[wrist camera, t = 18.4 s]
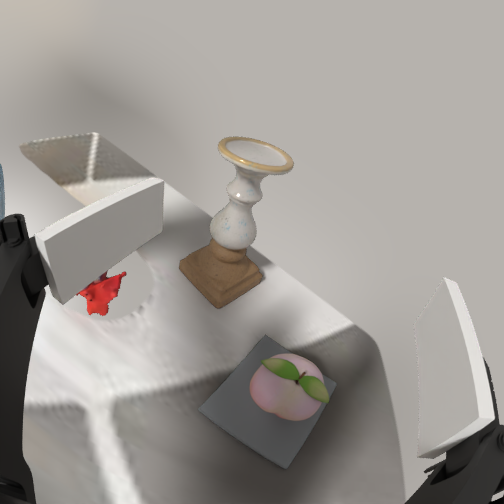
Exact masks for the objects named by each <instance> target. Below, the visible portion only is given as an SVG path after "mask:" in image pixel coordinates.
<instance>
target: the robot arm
mask: <svg viewBox="0 0 504 504" xmlns="http://www.w3.org/2000/svg"><path fill="white" fill-rule="evenodd" d="M163 198H164V180H161V179H157V178H153V177H152V178H149V179H147V180H144V181H142V182H139V183H137V184H134V185H132V186H130V187H127V188H125V189H123V190H121V191H118V192H116V193H114V194H112V195H109V196H107V197H105V198H103V199H101V200H99V201H96V202H94V203H92V204H90V205H88V206H86V207H84V208H82V209H80V210H78V211H76V212H74V213H72V214H70V215H68V216H66V217H65V218H63V219H61V220H59V221H57V222H55V223H54V224H52V225H50V226H48V227H47V228H45V229H43V230H41V231H39V232H38V233H36V234H34V235H35V236H34V237H31V238H30V239H29V236H28V232H27V228H26V223H25V218H24V215H22V214H13V215H9V216H7V217H5V195H4V179H3V171H2V166H1V164H0V504H36V499H35V492H34V484H33V478H32V473H31V471H30V468H29V466H28V465H27V463H26V461H25V460H24V457H23V451H22V430H23V409H24V398H25V388H26V381H27V374H28V367H29V361H30V356H31V351H32V346H33V341H34V337H35V332H36V328H37V324H38V320H39V316H40V313H41V309H42V306H43V302H44V299H45V294H46V292H45V289H44V287H45V286H47V285H48V284H49V287H50V289H51V293H52V295H53V297H54V298H55V299H57V300H58V301H59V302H60V303H61V304H62V305H64V304H65V303H66V302H67V301H69V300H70V299H71V298H72V297H74V296H75V295H76V294H77V293H79V292H80V291H81V290H82V289H84V288H85V287H86V286H88V285H89V284H90V283H92V282H93V281H94V280H95V279H97V278H98V277H99V276H101V275H102V274H103V273H105V272H106V271H107V270H108V269H110V268H111V267H112V266H114V265H115V264H117V263H118V262H120V261H121V260H122V259H124V258H125V257H126V256H128V255H129V254H131V253H132V252H133V251H135V250H136V249H138V248H139V247H141V246H142V245H143V244H145V243H146V242H148V241H149V240H151V239H152V238H154V237H155V236H156V235H158V234H159V233H161V232H162V231H163ZM414 330H415V339H416V349H417V360H418V374H419V375H418V376H419V438H418V452H417V457H419V458H431V459H434V458H436V457H438V456H439V455H441V454H443V453H445V452H446V459H445V460H443V461H442V462H439V463H437V464H435V465H434V466H431V467H429V468H428V469H426V470H425V471H424V473H427V472H430V471H432V470H434V471H433V472H432V473H431V474H430V475H428V478H427V479H426V481H425V482H424V483H423V484H422V485H421V487H420V488H419V489H418V490H417V491H416V492H415V493H414V494H413V495H412V496H411V497H410V499H409V500H408V501H407V502H406V503H405V504H504V495H503V497H502V498H499V499H497V500H495V501H491V499H492V496H493V495H495V494H497V493H499V492H501V491H503V490H504V425H500V424H499V418H498V410H497V404H496V399H495V393H494V391H493V389H494V388H493V383H492V382H491V380H492V379H491V375H490V370H489V367H488V365H487V363H486V361H485V360H484V358H483V357H482V353H481V349H480V346H479V343H478V339H477V336H476V333H475V330H474V327H473V324H472V321H471V318H470V316H469V312H468V310H467V307H466V304H465V302H464V300H463V297H462V294H461V292H460V290H459V287H458V285H457V283H456V282H454V281H452V280H449V279H447V278H445V277H444V278H443V279H442V281H441V283H440V284H439V286H438V288H437V289H436V291H435V293H434V294H433V296H432V297H431V299H430V300H429V302H428V304H427V305H426V307H425V308H424V310H423V311H422V313H421V314H420V315H419V317H418V319H417V320H416V321H415V323H414Z"/></svg>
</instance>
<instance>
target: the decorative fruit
mask: <svg viewBox="0 0 504 504" xmlns="http://www.w3.org/2000/svg"><path fill="white" fill-rule="evenodd" d="M261 363H262V365H261V366H260V368H259V369H258V370H257V371H256V372H255V374H254V375H253V377H252V379H251V381H250V394H251V397H252V399H253V400H254V402H255V403H256V404H257V405H258V406H259V407H260V408H261V409H263V410H264V411H266V412H269V413H274V414H276V415H277V416H278V417H280V418H283V419H287V420H292V421H300V420H305V419H307V418H309V417H311V416H312V415H313V414H315V412H316V411H317V410H318V409H319V407H320V405H321V403H322V402H323V403H329V395H328V392H327V389H326V387H325V385H324V380H323V376H322V374H321V372H320V370H319V369H318V367H317V366H316V365H315V364H314V363H312V362H311V361H309V360H307V359H306V358H303V357H301V356H298V355H295V354H278V355H275V356H273V357H271V358H269V359H265V360H261Z"/></svg>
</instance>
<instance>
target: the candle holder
mask: <svg viewBox="0 0 504 504" xmlns="http://www.w3.org/2000/svg"><path fill="white" fill-rule="evenodd" d="M218 151H219V153H220V154H221V156H222V157H223V158H224V159H226V160H227V161H229V162H231V163H232V164H234V166H235V168H236V170H237V173H236V178H235V179H234V180H233V181H232V182H231V183H229V184H228V185H227V188H226V190H227V193H228V196H229V198H230V202H229V203H228V205H227V206H226V207H225V208H223V209H222V210H221V211H219V212H218V213H217V214H216V215H215V216H214V218H213V219H212V221H211V223H210V234H211V236H212V239H211V241H210V245H208V246H206V247H203V248H201V249H199V250H197V251H195V252H193V253H191V254H189V255H188V256H187V257H186V258H184V259H182V260H181V261H180V265H179V269H180V270H181V271H182V273H183V274H184V275H185V276H186V277H187V278H188V279H189V280H190V282H191V283H192V284H193V285H194V286H195V287H196V288H197V289H198V290H199V291H200V292H201V293H202V294H203V295H204V296H205V297H206V298H207V299H208V300H209V302H211V303H212V304H213V305H214V306H215V307H216V308H218V309H219V308H221V307H223V306H225V305H227V304H228V303H230V302H231V301H233V300H235V299H236V298H238V297H239V296H241V295H242V294H244V293H246V292H247V291H249V290H250V289H252V288H253V287H255V286H256V285H257V284H259V283H260V281H261V279H262V276H263V275H262V274H261V273H260V272H259V268H258V267H257V266H256V265H255V264H254V263H253V262H252V261H251V260H250V259H249V258H248V257H247V256H246V255H245V254H246V247H248V246H250V245H251V244H252V243H253V241H254V240H255V237H256V225H255V221H254V219H253V216H252V211H251V208H252V206H253V205H254V204H256V203H257V202H259V201H260V200H261V199H262V192H261V189H260V182H261V181H262V179H263V178H264V177H266V176H268V175H283V174H286V173H288V172H290V171H291V170H292V168H293V164H294V162H293V160H292V158H291V157H290V156H289V155H288V154H287V153H286V152H284V151H283V150H281V149H279V148H277V147H275V146H273V145H271V144H268V143H266V142H263V141H260V140H255V139H252V138H246V137H227V138H224V139H222V140H221V141H220V142H219V144H218Z"/></svg>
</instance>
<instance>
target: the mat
mask: <svg viewBox="0 0 504 504" xmlns="http://www.w3.org/2000/svg"><path fill="white" fill-rule="evenodd" d="M278 354H292V353H291V352H289V351H288V350H286V349H285V348H284V347H282V346H281V345H279V344H278V343H277V342H275V341H274V340H272V339H271V338H270V337H268V336H267V335H265V336H264V337H263V338H262V339H261V340H260V341H259V343H258V344H257V345H256V346H255V347H254V348H253V350H252V351H251V352H250V353H249V354H248V355H247V356H246V358H245V359H244V360H243V361H242V362H241V363H240V364H239V365H238V367H237V368H236V369H235V370H234V371H233V372H232V373H231V374H230V375H229V377H228V378H227V379H226V380H225V381H224V382H223V383H222V384H221V385H220V386H219V387H218V389H217V390H216V391H215V392H214V393H213V394H212V395H211V396H210V397H209V398H208V399H207V400H206V401H205V402H204V403H203V404H202V405H201V406H200V408H199V409H198V411H200V412H201V413H202V414H203V415H205V416H206V417H207V418H209V419H210V420H211V421H213V422H214V423H215V424H216V425H218V426H219V427H220V428H222V429H223V430H225V431H226V432H227V433H229V434H230V435H232V436H233V437H234V438H236V439H237V440H239V441H240V442H242V443H243V444H245V445H246V446H248V447H249V448H251V449H252V450H254V451H255V452H257V453H258V454H260V455H262V456H263V457H265V458H266V459H268V460H270V461H271V462H273V463H275V464H277V465H278V466H280V467H282V468H283V469H287V468H288V467H289V465H290V464H291V462H292V461H293V459H294V458H295V456H296V455H297V453H298V452H299V450H300V448H301V447H302V445H303V444H304V442H305V441H306V439H307V437H308V436H309V434H310V432H311V431H312V429H313V427H314V426H315V424H316V422H317V420H318V419H319V417H320V415H321V413H322V412H323V410H324V408H325V406H326V404H327V403H323V402H322V403H321V405H320V407H319V409H318V410H317V411H316V412H315V414H313V415H312V416H311V417H309V418H307V419H305V420H300V421H292V420H287V419H283V418H280V417H278V416H277V415H276V414H274V413H269V412H266V411H264V410H263V409H261V408H260V407H259V406H258V405H257V404H256V403H255V402H254V400H253V399H252V397H251V394H250V381H251V379H252V377H253V375H254V374H255V372H256V371H257V370H258V369H259V368H260V366H261V365H262V363H261V360H265V359H269V358H271V357H273V356H275V355H278ZM321 374H322V373H321ZM322 376H323V380H324V385H325V387H326V389H327V392H328V395H329V399H330V397H331V395H332V393H333V391H334V389H335V387H336V385H337V383H335V382H334V381H332V380H331V379H329V378H328V377H326V376H325V375H323V374H322Z"/></svg>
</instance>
